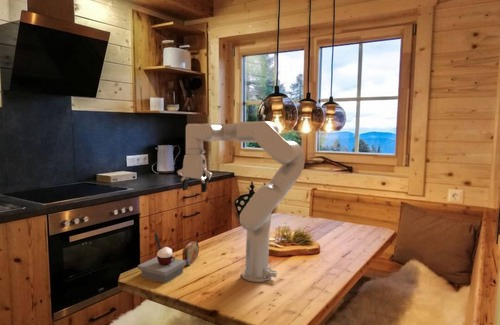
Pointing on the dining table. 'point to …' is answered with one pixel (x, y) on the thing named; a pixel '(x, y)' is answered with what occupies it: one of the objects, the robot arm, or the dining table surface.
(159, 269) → the stand
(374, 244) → the dining table surface
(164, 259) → the cocoa
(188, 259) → the tin
